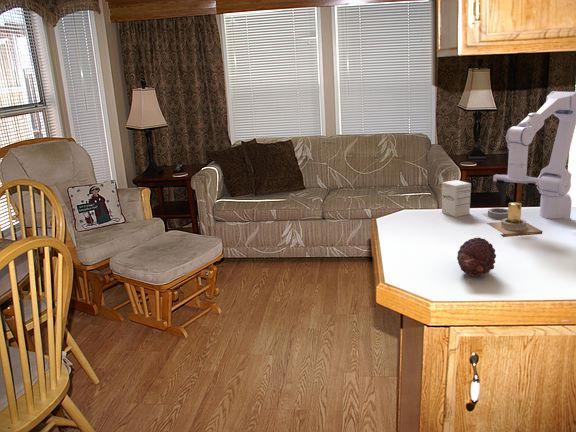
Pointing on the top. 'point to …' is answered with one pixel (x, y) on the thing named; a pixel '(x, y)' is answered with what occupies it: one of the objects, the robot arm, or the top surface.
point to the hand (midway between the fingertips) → (515, 204)
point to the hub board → (516, 233)
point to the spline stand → (497, 214)
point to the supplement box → (456, 198)
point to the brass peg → (514, 213)
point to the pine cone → (476, 257)
